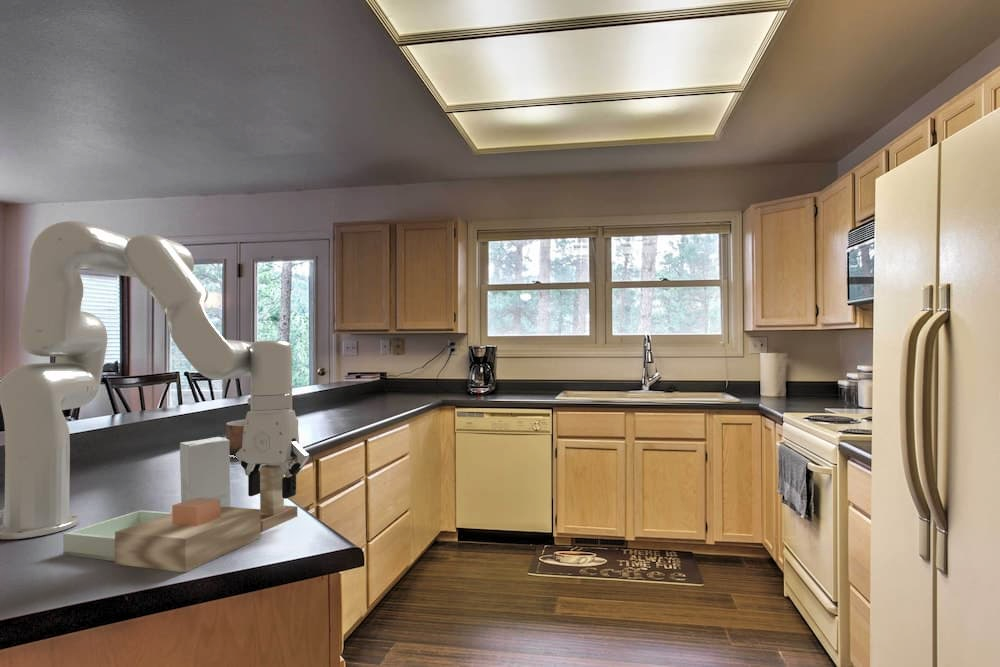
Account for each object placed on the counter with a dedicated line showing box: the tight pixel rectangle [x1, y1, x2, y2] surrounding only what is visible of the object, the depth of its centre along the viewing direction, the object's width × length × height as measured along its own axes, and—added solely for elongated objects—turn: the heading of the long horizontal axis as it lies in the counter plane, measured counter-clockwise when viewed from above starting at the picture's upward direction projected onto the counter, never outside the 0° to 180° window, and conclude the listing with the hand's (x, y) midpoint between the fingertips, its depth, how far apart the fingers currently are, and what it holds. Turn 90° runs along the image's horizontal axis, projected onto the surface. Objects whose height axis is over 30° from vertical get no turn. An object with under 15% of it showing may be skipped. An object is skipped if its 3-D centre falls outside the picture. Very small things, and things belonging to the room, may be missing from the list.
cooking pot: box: [225, 417, 299, 456], centre depth 186 cm, size 30×22×11 cm
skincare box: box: [179, 436, 232, 507], centre depth 117 cm, size 8×6×15 cm
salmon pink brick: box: [171, 498, 221, 526], centre depth 92 cm, size 5×5×3 cm
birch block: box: [114, 506, 261, 573], centre depth 93 cm, size 14×16×5 cm
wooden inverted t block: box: [259, 464, 298, 533], centre depth 107 cm, size 4×10×11 cm, turn 163°
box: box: [62, 509, 172, 562], centre depth 96 cm, size 12×14×4 cm
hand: (272, 495), depth 107 cm, fingers open, 7 cm apart
